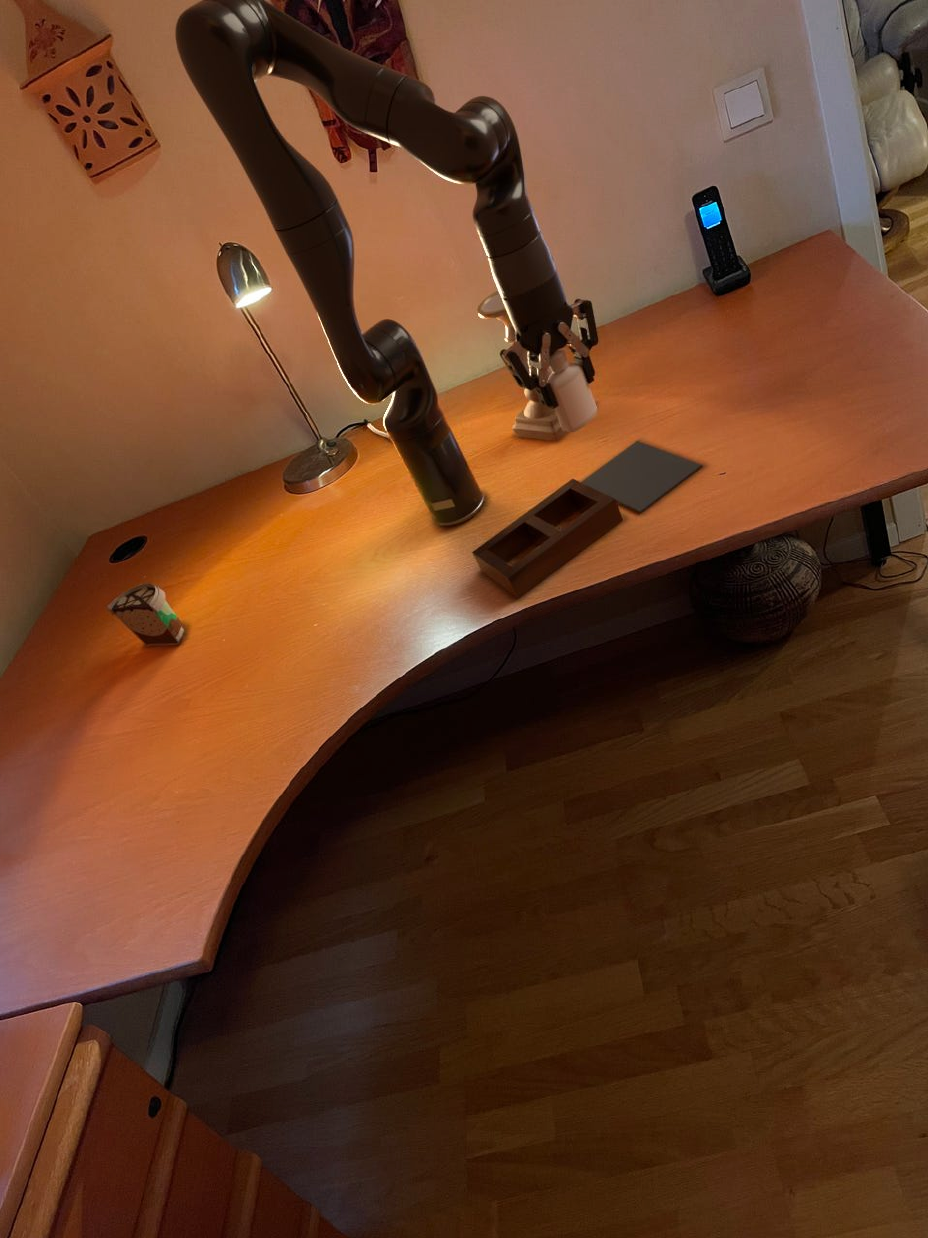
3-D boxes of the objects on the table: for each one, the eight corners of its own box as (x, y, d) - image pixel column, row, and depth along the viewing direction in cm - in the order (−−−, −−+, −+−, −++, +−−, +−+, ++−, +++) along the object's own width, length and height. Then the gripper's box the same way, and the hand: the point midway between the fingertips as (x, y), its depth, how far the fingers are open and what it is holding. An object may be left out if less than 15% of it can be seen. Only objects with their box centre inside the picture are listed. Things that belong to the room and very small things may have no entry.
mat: (580, 484, 131) (579, 482, 131) (637, 442, 133) (637, 440, 133) (640, 513, 119) (639, 511, 119) (702, 466, 121) (702, 464, 121)
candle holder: (550, 401, 156) (503, 281, 141) (595, 404, 148) (549, 277, 133) (514, 436, 152) (461, 316, 137) (558, 441, 144) (507, 314, 130)
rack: (482, 572, 125) (471, 552, 122) (580, 498, 128) (572, 478, 126) (518, 599, 117) (508, 578, 114) (623, 520, 120) (615, 498, 117)
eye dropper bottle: (604, 418, 114) (575, 340, 107) (566, 437, 115) (536, 360, 108) (594, 406, 118) (567, 330, 110) (558, 424, 118) (528, 349, 111)
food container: (204, 619, 150) (171, 578, 144) (186, 644, 146) (150, 603, 140) (160, 621, 156) (126, 583, 150) (140, 645, 152) (105, 606, 146)
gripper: (555, 246, 108) (595, 361, 118) (466, 304, 105) (515, 417, 115) (588, 249, 102) (627, 370, 112) (495, 311, 99) (543, 429, 109)
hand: (570, 393), depth 113 cm, fingers closed on eye dropper bottle, 5 cm apart
